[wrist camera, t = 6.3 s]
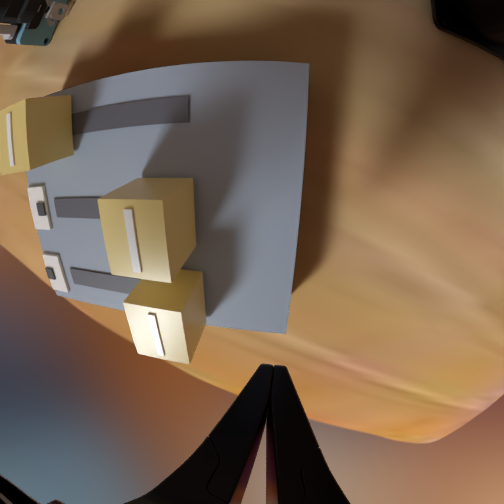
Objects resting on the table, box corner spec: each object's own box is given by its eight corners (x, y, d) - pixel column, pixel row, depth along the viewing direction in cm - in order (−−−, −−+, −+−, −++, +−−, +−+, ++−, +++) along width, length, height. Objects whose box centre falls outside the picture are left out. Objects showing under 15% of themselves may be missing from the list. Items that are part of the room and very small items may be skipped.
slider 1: (71, 94, 9) (24, 99, 7) (74, 154, 10) (28, 170, 8) (38, 105, 9) (-6, 113, 7) (42, 159, 11) (-1, 175, 8)
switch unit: (305, 75, 11) (309, 61, 8) (287, 297, 16) (285, 338, 13) (57, 100, 12) (17, 105, 9) (81, 271, 18) (54, 297, 15)
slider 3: (202, 271, 12) (180, 313, 10) (206, 321, 13) (189, 365, 11) (152, 265, 12) (121, 303, 10) (160, 314, 14) (137, 354, 11)
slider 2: (193, 178, 10) (161, 200, 8) (196, 245, 12) (170, 284, 9) (137, 178, 11) (95, 199, 8) (144, 241, 12) (110, 275, 9)
